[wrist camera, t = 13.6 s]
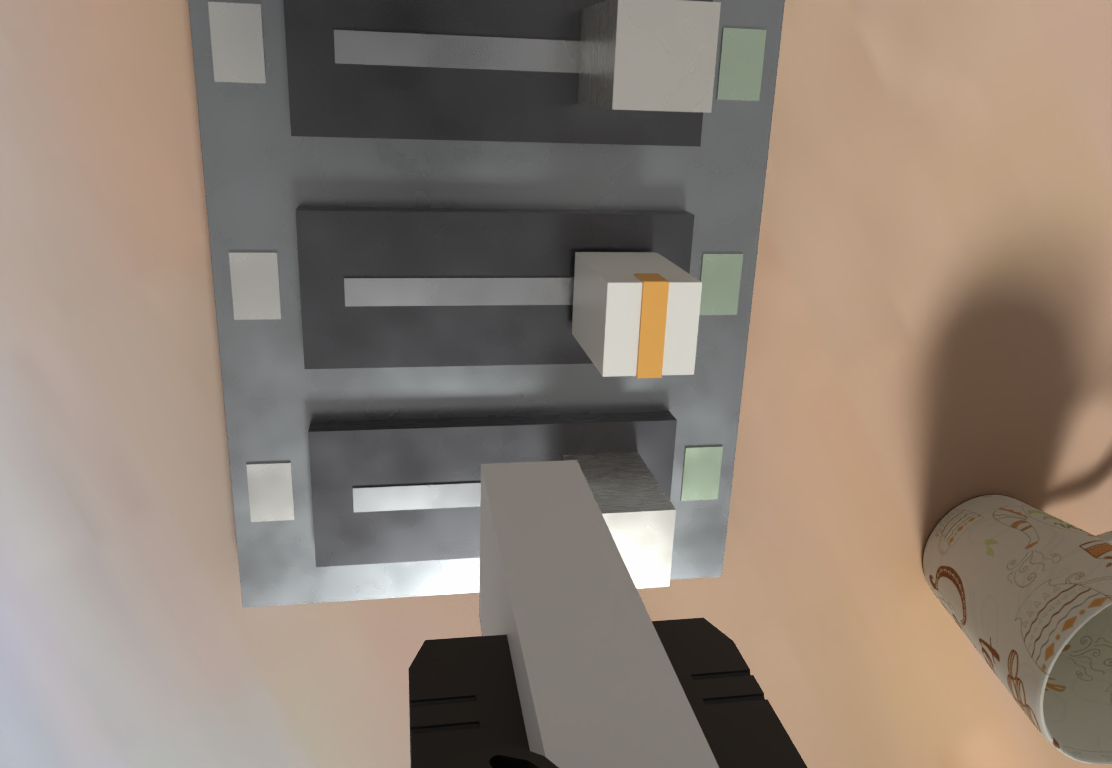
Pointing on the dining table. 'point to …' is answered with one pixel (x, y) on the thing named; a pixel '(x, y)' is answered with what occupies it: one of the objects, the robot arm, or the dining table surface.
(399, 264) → the panel
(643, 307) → the block
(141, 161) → the dining table surface
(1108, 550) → the mug
